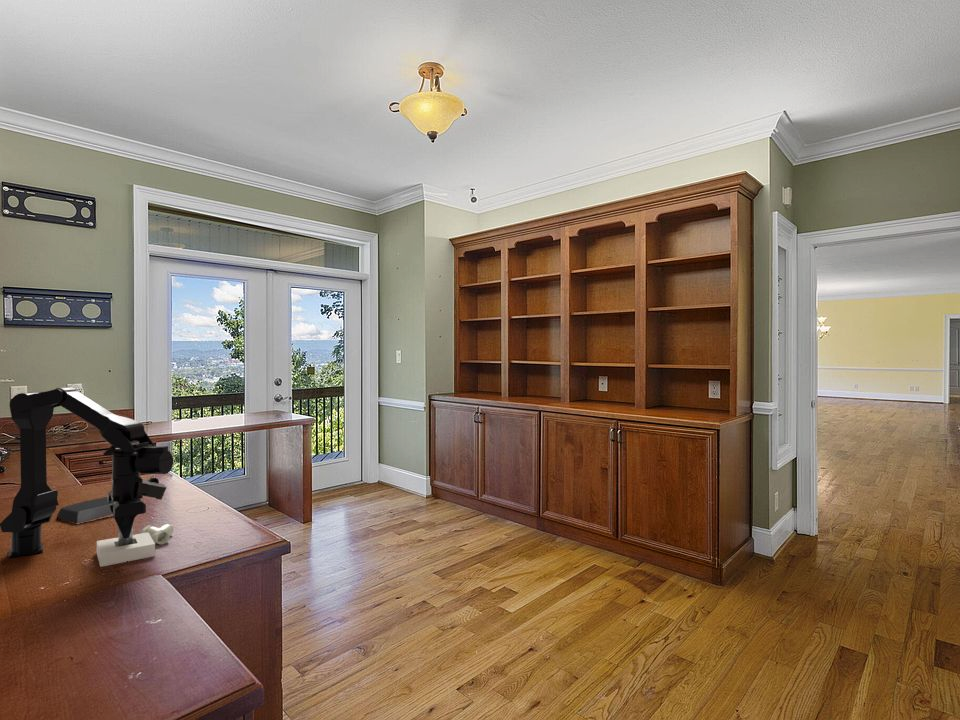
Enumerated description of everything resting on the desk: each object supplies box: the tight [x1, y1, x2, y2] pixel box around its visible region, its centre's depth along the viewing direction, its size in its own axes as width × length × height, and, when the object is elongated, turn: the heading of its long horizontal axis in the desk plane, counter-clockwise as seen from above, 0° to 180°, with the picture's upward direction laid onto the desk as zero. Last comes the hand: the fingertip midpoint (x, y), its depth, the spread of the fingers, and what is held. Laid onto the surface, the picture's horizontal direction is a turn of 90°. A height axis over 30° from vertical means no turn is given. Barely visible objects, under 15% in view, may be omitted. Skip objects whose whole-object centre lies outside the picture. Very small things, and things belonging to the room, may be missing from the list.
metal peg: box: [117, 524, 134, 547], centre depth 131 cm, size 3×3×10 cm
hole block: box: [96, 532, 156, 568], centre depth 131 cm, size 11×11×3 cm
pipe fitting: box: [141, 523, 174, 545], centre depth 142 cm, size 8×4×7 cm
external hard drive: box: [55, 496, 142, 524], centre depth 165 cm, size 13×19×4 cm
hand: (125, 536), depth 131 cm, fingers closed on metal peg, 3 cm apart
